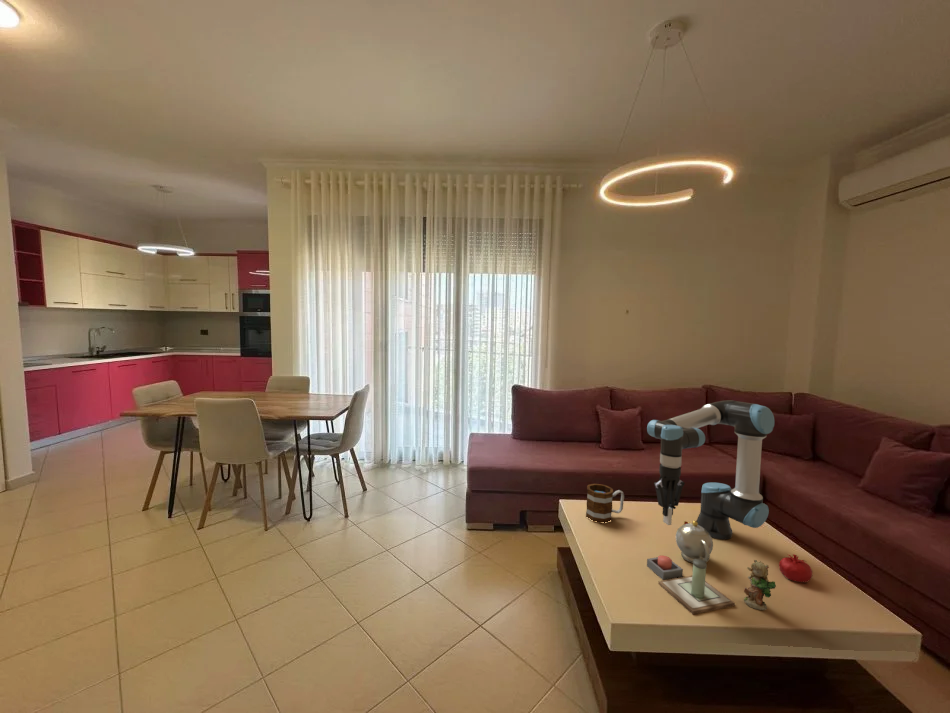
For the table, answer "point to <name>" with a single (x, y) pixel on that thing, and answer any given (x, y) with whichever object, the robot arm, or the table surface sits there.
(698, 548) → the teapot
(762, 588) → the figurine
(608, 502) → the mug
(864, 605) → the table surface
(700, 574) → the cylinder
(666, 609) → the table surface
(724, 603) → the picture board
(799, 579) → the pomegranate
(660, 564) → the button
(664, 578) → the button housing
